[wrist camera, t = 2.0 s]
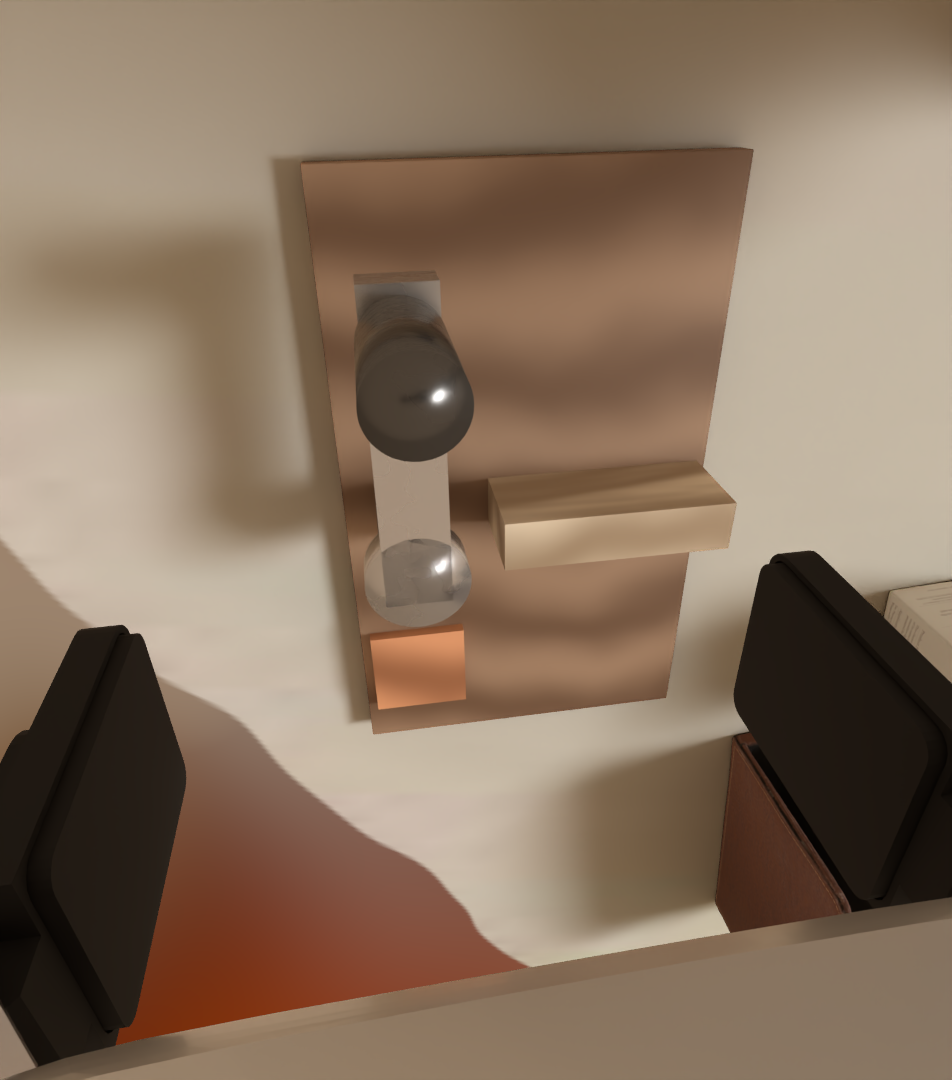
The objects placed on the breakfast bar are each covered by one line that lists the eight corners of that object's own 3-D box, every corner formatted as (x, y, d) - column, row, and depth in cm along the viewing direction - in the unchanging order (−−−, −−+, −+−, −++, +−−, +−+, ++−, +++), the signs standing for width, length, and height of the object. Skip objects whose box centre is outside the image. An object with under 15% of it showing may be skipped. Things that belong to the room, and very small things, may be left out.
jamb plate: (301, 161, 29) (293, 176, 24) (739, 147, 31) (813, 158, 26) (372, 719, 44) (376, 796, 40) (659, 684, 47) (695, 753, 42)
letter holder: (712, 899, 61) (801, 1096, 49) (729, 732, 50) (848, 932, 38) (827, 874, 62) (942, 1063, 50) (868, 704, 51) (1027, 892, 39)
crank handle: (467, 599, 33) (497, 722, 27) (368, 609, 33) (375, 737, 26) (457, 268, 26) (495, 329, 19) (329, 275, 25) (324, 339, 19)
